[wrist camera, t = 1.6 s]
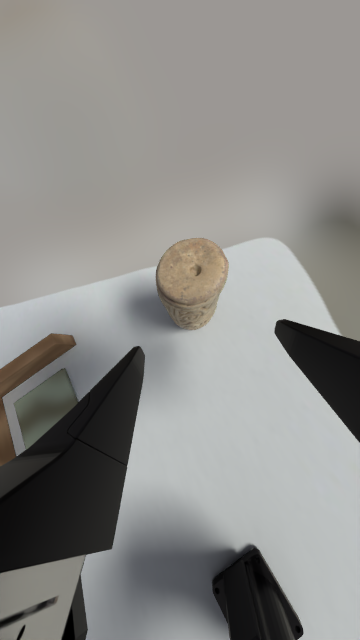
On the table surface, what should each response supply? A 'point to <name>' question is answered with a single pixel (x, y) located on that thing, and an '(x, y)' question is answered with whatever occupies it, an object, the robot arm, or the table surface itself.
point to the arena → (36, 393)
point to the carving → (191, 281)
